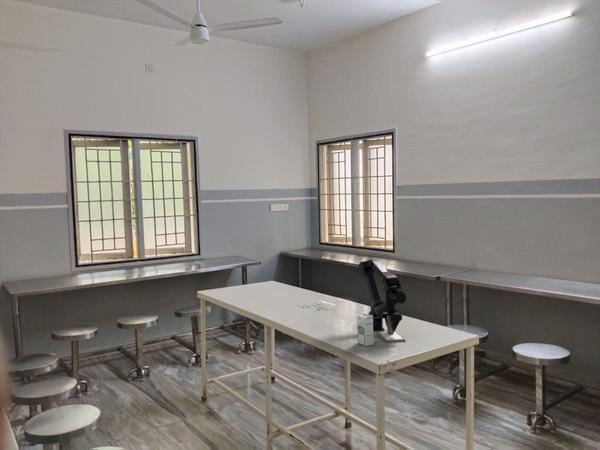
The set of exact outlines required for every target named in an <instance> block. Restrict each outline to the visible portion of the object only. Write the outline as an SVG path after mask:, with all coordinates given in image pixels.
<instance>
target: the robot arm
mask: <svg viewBox="0 0 600 450" xmlns="http://www.w3.org/2000/svg"><path fill="white" fill-rule="evenodd" d="M357 267H358V269H359V270H358V271H359V272H360V274H361V275H362V276H363V278H364V279H365V282H366V286H367V290H368V293H369V297H370V300H371V304H370V306H369V308H370V310H369V312H368V313H367V314H368V315H372V316H373V332H377V331H378V332H382V331H386V330H385V328H384V326H383V325H384V321H385V326H386V327H387V316H388V318H389V319H388V320H389V321H391V325H392V331H393V332H395V331H396V330H397V328H398V325H399V324H400V322H401V321H402V320H403V315H402V314H401V313H400V312H398V309H397V305H398V304H400V305H401V304H404V303H405V302H406V300H407V295H406V294H405V293H404V290H402V285H401V283H400V281H399V279H398V276H397V275H396V274H395V273H392V272H390V271H388V270H387V268H385V267H384V266H383V264H382V263H380V261H379V259H377V258H371V259H370V258H369V259H368V260H362V261H360V262H359V263H358V266H357ZM375 273H376V274H377V275H378V276H379V277H380V279H381V283H382V285H383V288H382V290H383V291H384V300H382V299H381V296H380V293H379V289H378V286H377V282H376V278H375ZM383 320H384V321H383Z"/></svg>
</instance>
